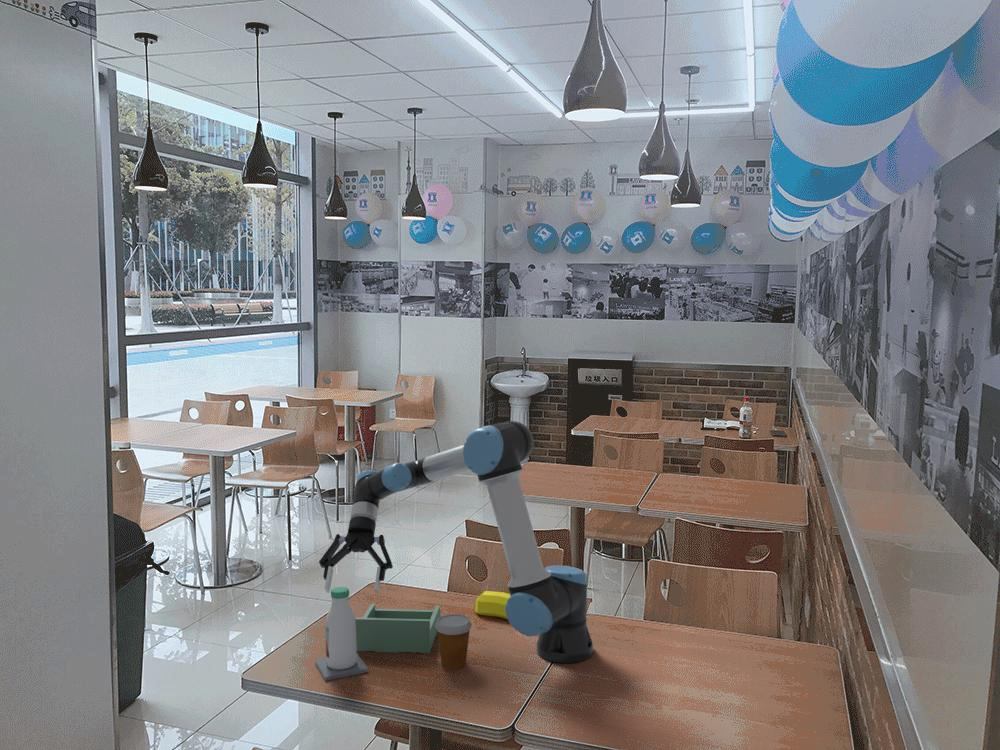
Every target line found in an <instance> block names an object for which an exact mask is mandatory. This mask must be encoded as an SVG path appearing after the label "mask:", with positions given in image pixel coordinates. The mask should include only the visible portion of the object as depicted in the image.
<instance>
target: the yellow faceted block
mask: <svg viewBox="0 0 1000 750" xmlns="http://www.w3.org/2000/svg"><path fill="white" fill-rule="evenodd" d="M510 597H511V596H510V593H508V592H504V591H503V592H502V591H493V590H492V591H491V590H490V591H489V590H485V591H484V592H482V593H481V594H479V595H478V596H477V598H476V600H475V602H474V606H473V608H474V612H475V613H476V614H477V615H479V614H481V615H480V616H485V615H486V617H495V618H501V619H505V620H508V618H507V616H506V610H505V608H506V604H507V601H508V599H509V598H510Z"/></svg>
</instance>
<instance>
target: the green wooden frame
mask: <svg viewBox="0 0 1000 750" xmlns="http://www.w3.org/2000/svg"><path fill="white" fill-rule="evenodd" d="M441 616H442V612H441V605H437V604H436V605H434V609H399V608H398V609H395V608H376V603H370V605H369V606H368V608H367V610H366V611H365V613H364V615H362V617H355V621H356V650H357V652H364V651H375V653H399V652H412V653H411V654H417V653H416V652H420V653H419V654H431V651H432V649H431V648H433V646H434V644H435V641H436V638H437V636H438V633H437V630H436V628H435V624H436V622H437V619H438V618H439V617H441ZM435 637H436V638H435ZM434 640H435V641H434ZM432 645H433V646H432ZM413 652H414V653H413ZM421 652H422V653H421Z"/></svg>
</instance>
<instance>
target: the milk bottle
mask: <svg viewBox="0 0 1000 750" xmlns="http://www.w3.org/2000/svg"><path fill="white" fill-rule="evenodd" d="M349 598H350V588H348V587H346V586H336V587H333V588H332V589H330V599H331V604H330V608H329V610H328V612H327V614H326V620H325V653H326V654H325V656H326V657H325V658H326V661H327V666H328V667H329V668H331V669H336V670H342V669H348V668H350V667H352V666H354V665H355V664H356V661H357V654H358V651H357V650H356V621H355V618H356V616H355V613H354V611H353V608H352V607H351V604H350V601H349Z"/></svg>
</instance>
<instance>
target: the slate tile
mask: <svg viewBox="0 0 1000 750" xmlns="http://www.w3.org/2000/svg"><path fill="white" fill-rule="evenodd" d="M314 664H315V666H316V667H317V669H318V671H319V673H320V674H321V676H322V678H323V679H324V681H325V682H328V681H333V680H336V679H337V678H338V679H341V678H348V677H351V675H352V676H357V675H361V673H362V674H365V673H364V672H367V673H369V668H368V667H367V665H366V663H365V662H364V661H363V660H362V658H361V657H360V655H359V654H358V653H357V661H356V664H355V665H354V666H352V667H350V668H348V669H342V670H336V669H331V668H329V667H328V666H327V661H326V657H322V658H318V659H315V661H314ZM356 674H357V675H356Z"/></svg>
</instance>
